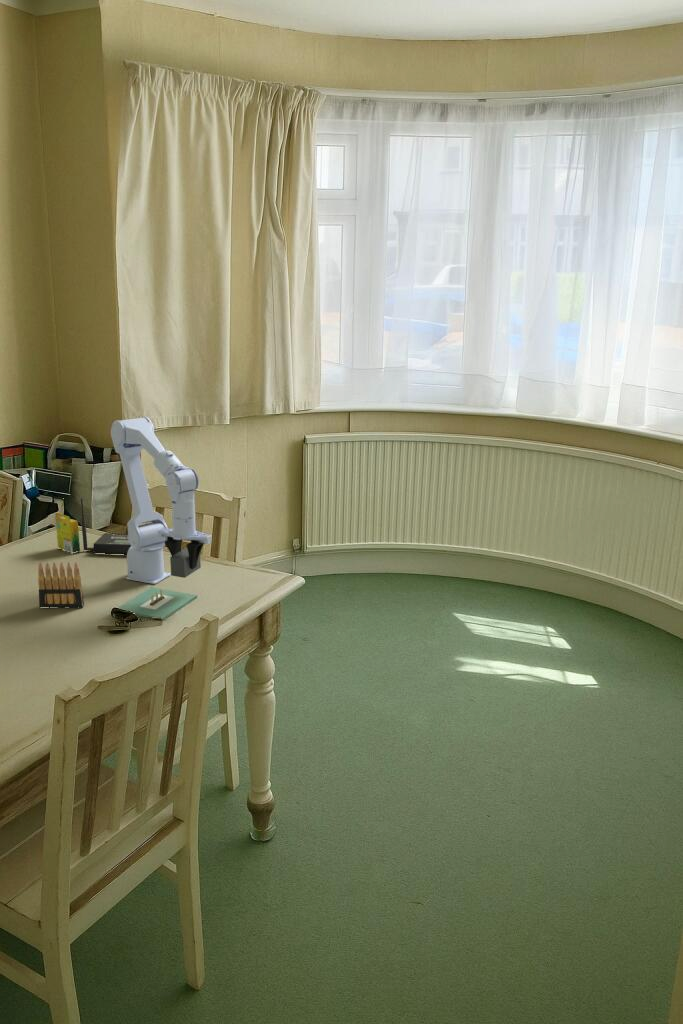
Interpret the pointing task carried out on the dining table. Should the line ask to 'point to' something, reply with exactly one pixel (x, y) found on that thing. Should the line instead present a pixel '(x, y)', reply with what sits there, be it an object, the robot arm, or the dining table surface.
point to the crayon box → (67, 533)
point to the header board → (158, 603)
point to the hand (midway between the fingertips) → (185, 566)
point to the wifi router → (106, 541)
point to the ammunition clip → (60, 587)
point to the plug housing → (182, 564)
